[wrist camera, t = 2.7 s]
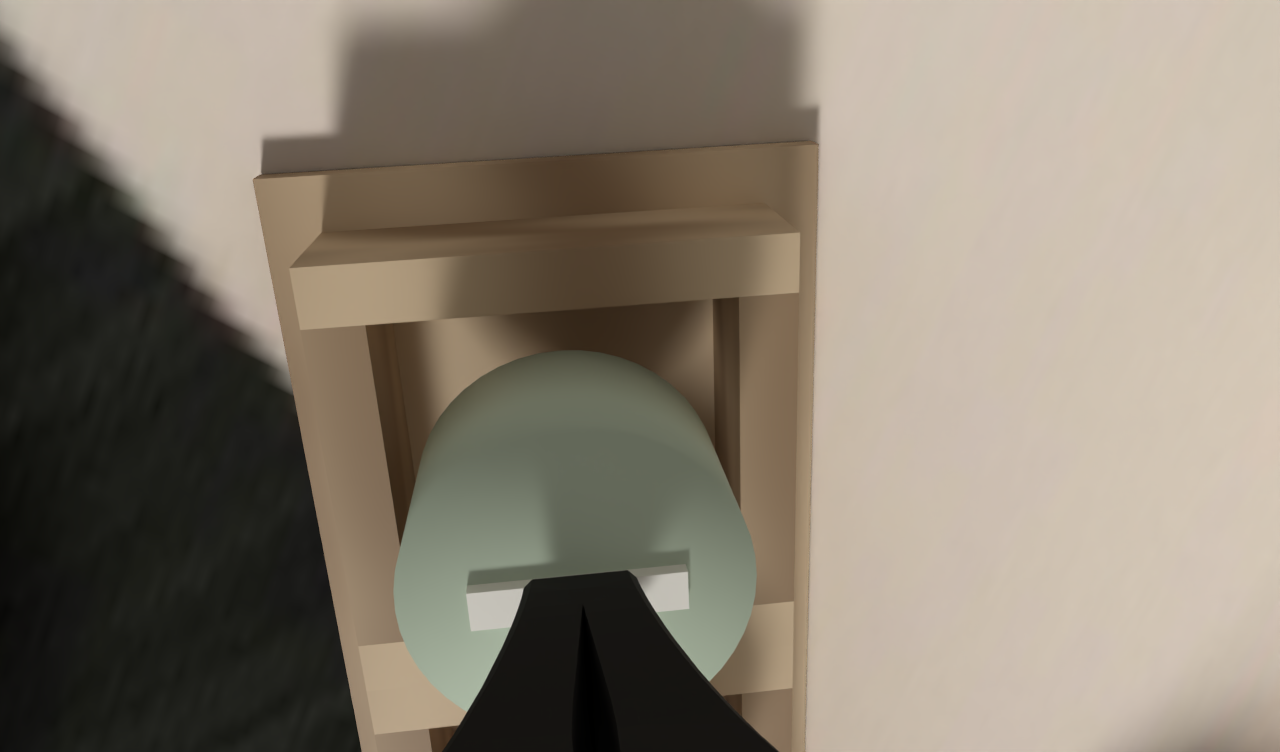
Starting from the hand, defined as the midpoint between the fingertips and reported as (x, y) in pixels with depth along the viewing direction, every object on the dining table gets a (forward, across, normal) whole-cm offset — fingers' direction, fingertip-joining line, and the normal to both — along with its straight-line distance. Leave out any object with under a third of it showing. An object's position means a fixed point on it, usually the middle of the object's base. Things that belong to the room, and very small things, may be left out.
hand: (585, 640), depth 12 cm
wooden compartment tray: (+8, 0, +8) cm, 11 cm away
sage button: (+4, 0, 0) cm, 4 cm away
